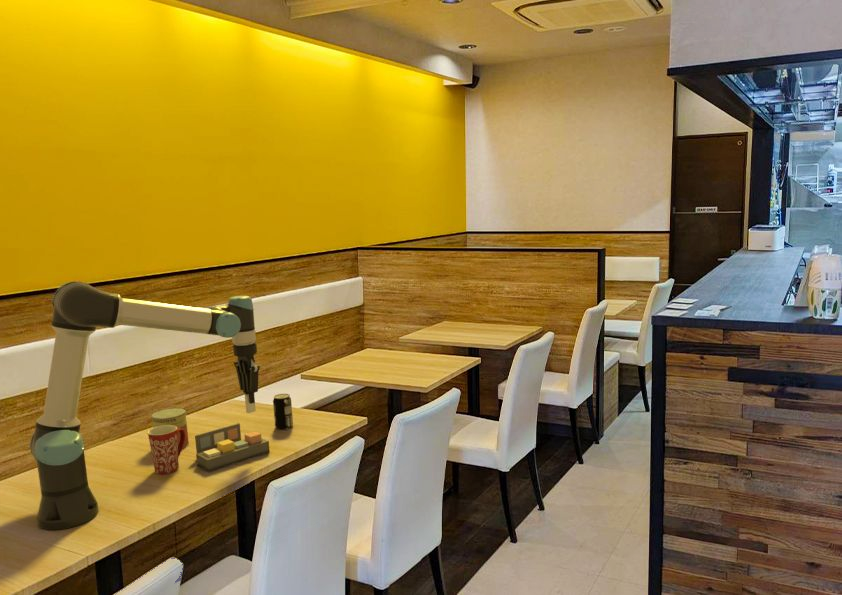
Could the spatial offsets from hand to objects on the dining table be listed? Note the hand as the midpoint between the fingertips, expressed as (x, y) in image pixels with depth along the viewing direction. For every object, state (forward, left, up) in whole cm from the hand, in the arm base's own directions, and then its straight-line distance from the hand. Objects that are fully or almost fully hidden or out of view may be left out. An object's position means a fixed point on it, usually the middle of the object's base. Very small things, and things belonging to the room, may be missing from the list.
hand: (251, 411), depth 238 cm
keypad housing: (-8, 0, -14) cm, 16 cm away
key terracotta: (0, 0, -11) cm, 11 cm away
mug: (-25, +9, -15) cm, 30 cm away
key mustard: (-10, 0, -11) cm, 15 cm away
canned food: (-16, +29, -15) cm, 36 cm away
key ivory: (-15, 0, -13) cm, 20 cm away
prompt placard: (-8, +10, -14) cm, 19 cm away
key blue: (-5, 0, -13) cm, 14 cm away
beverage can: (+21, +15, -15) cm, 30 cm away
